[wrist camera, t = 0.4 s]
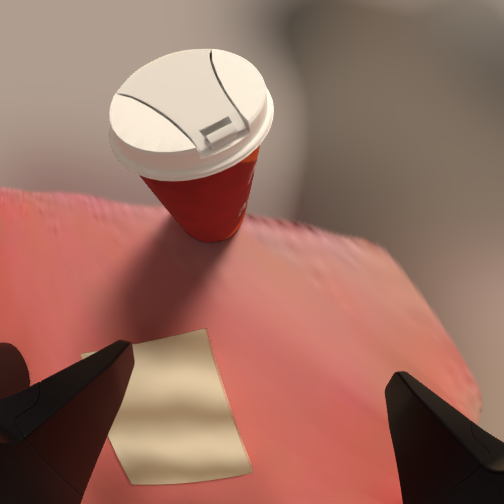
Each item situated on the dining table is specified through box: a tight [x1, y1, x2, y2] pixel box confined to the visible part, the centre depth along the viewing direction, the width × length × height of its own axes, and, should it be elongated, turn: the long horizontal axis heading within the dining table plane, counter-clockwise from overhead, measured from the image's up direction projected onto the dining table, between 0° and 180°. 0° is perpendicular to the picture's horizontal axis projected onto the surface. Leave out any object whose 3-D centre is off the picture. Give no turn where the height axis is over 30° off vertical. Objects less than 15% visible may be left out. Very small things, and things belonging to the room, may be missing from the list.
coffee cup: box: [109, 49, 274, 242], centre depth 18 cm, size 8×8×15 cm
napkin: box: [81, 328, 253, 485], centre depth 20 cm, size 14×12×2 cm
